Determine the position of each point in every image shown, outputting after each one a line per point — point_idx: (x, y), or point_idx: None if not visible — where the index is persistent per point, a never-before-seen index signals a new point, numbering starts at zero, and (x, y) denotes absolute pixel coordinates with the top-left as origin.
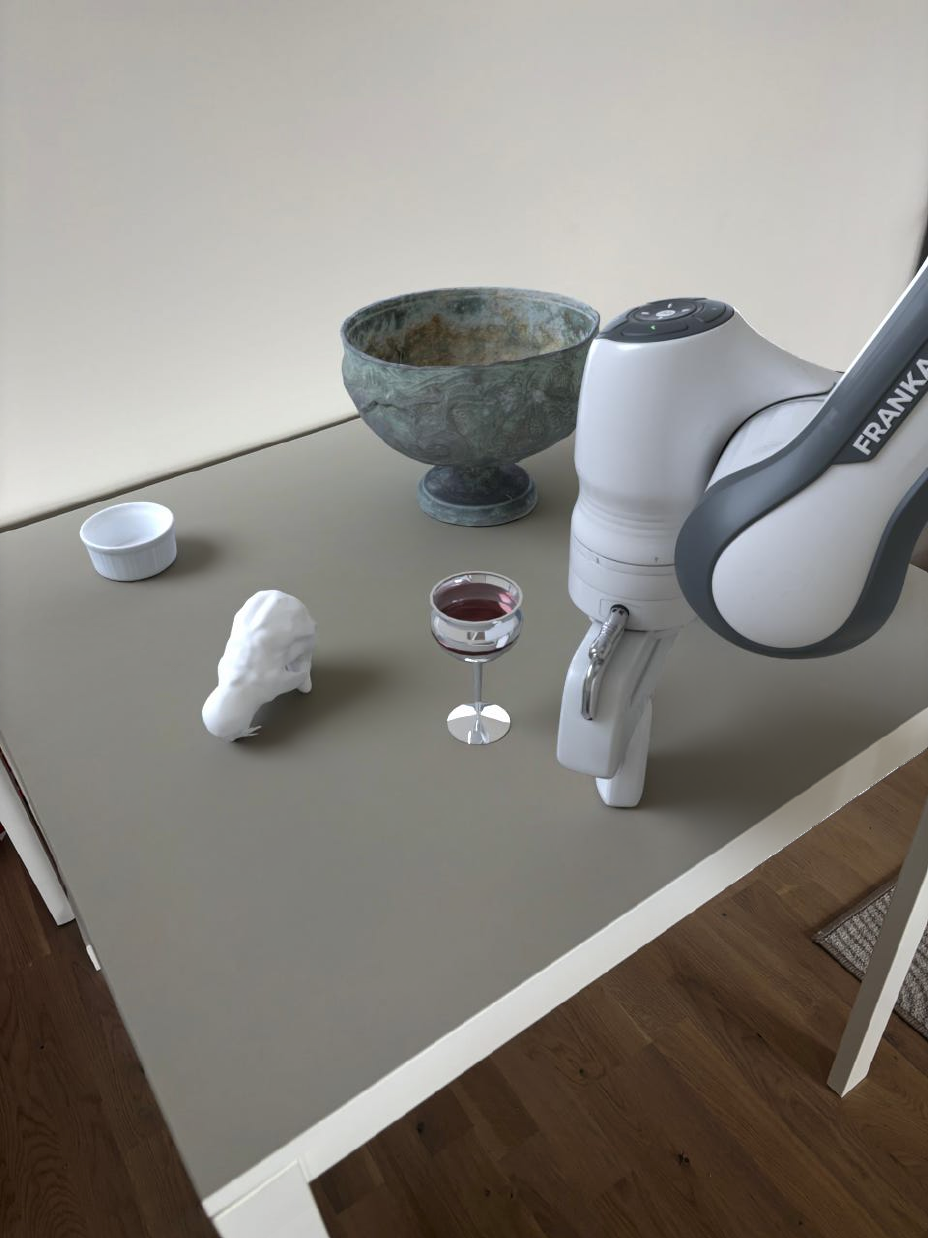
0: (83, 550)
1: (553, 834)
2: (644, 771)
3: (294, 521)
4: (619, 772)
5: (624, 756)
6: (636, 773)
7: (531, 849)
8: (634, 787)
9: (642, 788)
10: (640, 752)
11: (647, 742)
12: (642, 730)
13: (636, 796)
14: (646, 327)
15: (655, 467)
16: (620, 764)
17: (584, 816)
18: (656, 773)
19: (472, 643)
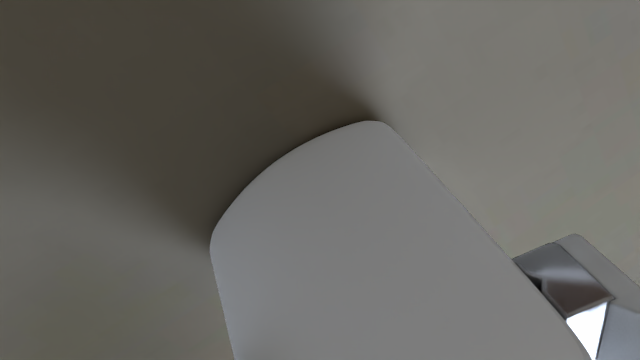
0: None
1: (520, 190)
2: (375, 185)
3: None
4: (586, 240)
5: (555, 279)
6: (456, 198)
7: (567, 193)
8: (424, 164)
9: (346, 145)
10: (510, 261)
11: (454, 279)
12: (583, 354)
13: (398, 139)
14: None
15: None
16: (613, 265)
17: (449, 181)
18: (211, 152)
19: None
